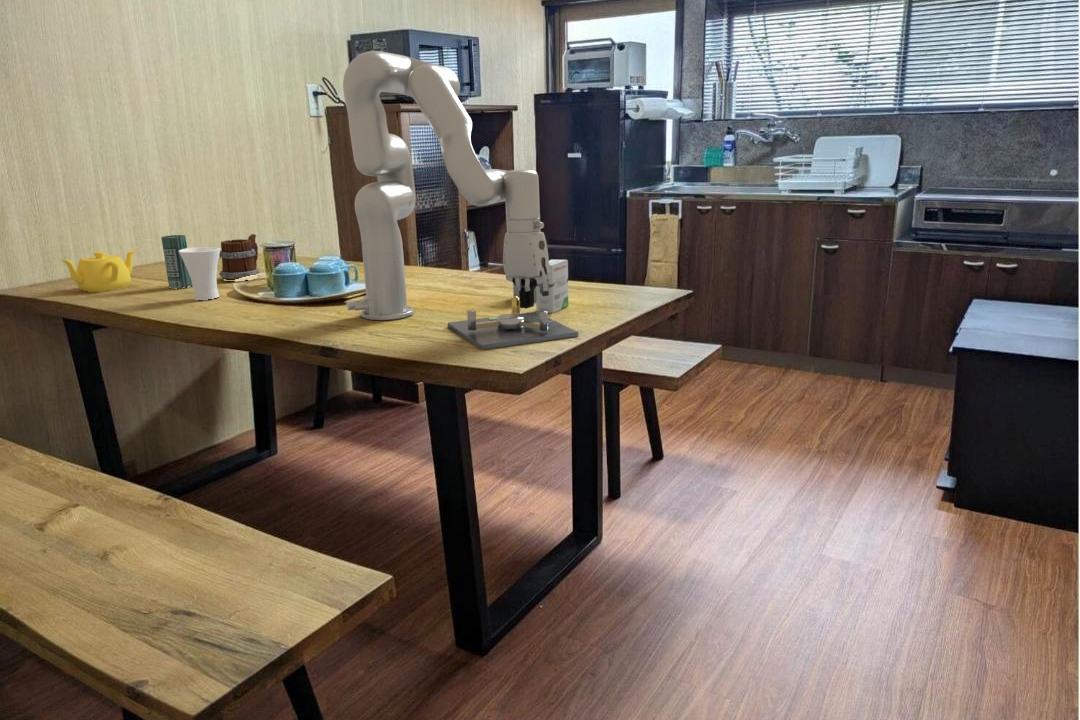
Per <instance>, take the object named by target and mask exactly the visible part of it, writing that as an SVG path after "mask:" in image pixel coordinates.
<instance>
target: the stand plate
mask: <svg viewBox="0 0 1080 720" xmlns="http://www.w3.org/2000/svg"><path fill="white" fill-rule="evenodd" d="M520 315H523V316H524V320H525V321H532V322H538V323H540V312H538V311H532V312H524V313H523V312H522V313H520ZM498 316H499V315H498ZM498 316H487V317H483V318H482V317H481V318H476V323H478V322H486V321H494V320H497V317H498ZM447 328H448V329H450V330H452V331H453V332H454V333H456V334H457V335H459V336H460V337H462V338H463V339H465V340H466V341H468V342H470V343H471V342H472V343H471V344H472V345H474V344H475V345H474V346H476V347H477V346H478V347H477V348H479V349H480V348H481V350H482V349H486V350H489V349H488V348H493V349H496V348H495V347H500V348H502V347H501V346H507V347H511V346H510V345H514V346H519V345H518V344H521V345H526V344H528V345H529V344H534V343H541V342H549V341H554V340H555V341H556V340H562V339H569V338H570V339H571V338H576V337H579V331H577V330H575V329H573V328H571V327H569V326H566V325H564V324H562V323H561V322H558V321H557V320H554V319H551V318H550V317H548V330H547V331H541V330H540V329H536V328H529V327H522V328H518V329H501V328H498V327H497V326H495V327H487V328H479V329H476V330H468V319H467V320H459V321H451V322H447Z"/></svg>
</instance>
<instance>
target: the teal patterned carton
mask: <svg viewBox="0 0 1080 720" xmlns="http://www.w3.org/2000/svg"><path fill="white" fill-rule="evenodd" d="M161 244H162V251H163V256H164V262H165V269H166V276H167V282H168V283H167V284H168V288H169V287H171V288H183V287H188V286H192V281H191V278H190V275H189V272H188V270H187V268H186V265H185V263H184V261H183V259H182V257H181V255H180V253H179V250H182V249H186V248H188V245H187V237H186V235H184V234H172V235H165V236H164V235H163V236H161ZM192 287H193V286H192Z"/></svg>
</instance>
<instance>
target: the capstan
mask: <svg viewBox="0 0 1080 720" xmlns="http://www.w3.org/2000/svg"><path fill="white" fill-rule="evenodd" d="M466 314H467V320H468V330H476V329H479V328H487V327H495V326H497V327H498V328H501V329H518V328H522V327H529V328H536V329H540V330H541V331H547V330H548V318H549V312H548V311H539V314H540V323H538V322H532V321H525V320H524V316H523V315H520V314H521V308H520V300H519V298H518V297H516V296H515V297H514V296H513V297H511V312H510V313H506V314H505V313H503V314H500V315H498V317H497V320H494V321H486V322H478V323H476V319H477V311H476V310H471V309H470V310H468V311H467V312H466Z"/></svg>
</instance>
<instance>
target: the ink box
mask: <svg viewBox="0 0 1080 720" xmlns="http://www.w3.org/2000/svg"><path fill="white" fill-rule="evenodd" d="M537 279H538V278H537ZM546 279H547V281H546V282H545V283H541V284H538V285H537V286H536V312H540V311H548V314H549V313H551V314H553V313H554V314H555V313H556V312H558V311H560V310H563V309H565V308H566V307H569V260H568V259H550V260H549V274H548V275H546Z"/></svg>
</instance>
